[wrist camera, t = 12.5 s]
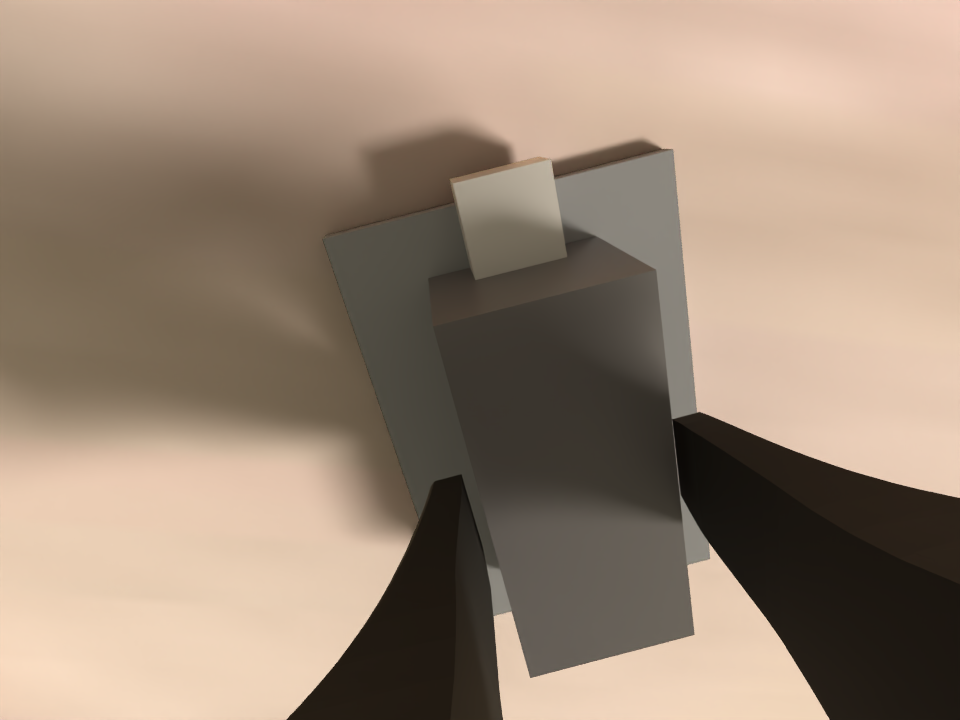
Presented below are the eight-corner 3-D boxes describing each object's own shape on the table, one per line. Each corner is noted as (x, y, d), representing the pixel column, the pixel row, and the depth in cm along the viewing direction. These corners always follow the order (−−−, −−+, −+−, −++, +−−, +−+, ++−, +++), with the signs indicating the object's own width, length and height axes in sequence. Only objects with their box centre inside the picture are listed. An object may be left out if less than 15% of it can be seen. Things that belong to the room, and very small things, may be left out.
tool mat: (702, 547, 18) (709, 558, 17) (454, 613, 17) (455, 625, 17) (664, 148, 13) (672, 149, 12) (325, 235, 13) (322, 239, 12)
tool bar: (639, 536, 16) (694, 634, 13) (507, 570, 16) (530, 677, 13) (582, 145, 12) (643, 150, 9) (404, 190, 12) (400, 210, 9)
